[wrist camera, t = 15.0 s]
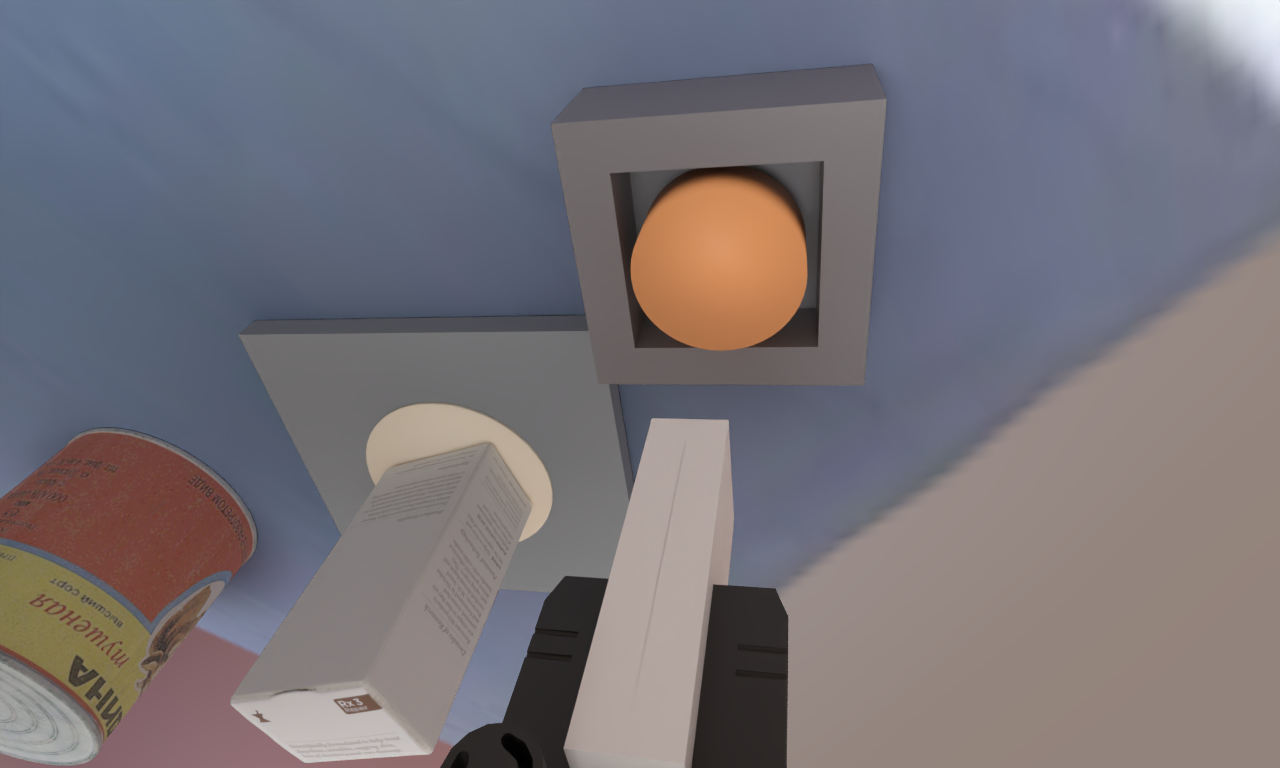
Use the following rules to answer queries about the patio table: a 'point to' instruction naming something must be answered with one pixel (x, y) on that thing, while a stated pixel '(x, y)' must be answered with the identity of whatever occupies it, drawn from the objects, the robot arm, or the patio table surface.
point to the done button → (721, 258)
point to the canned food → (105, 584)
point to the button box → (719, 137)
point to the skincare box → (391, 614)
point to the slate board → (460, 420)
